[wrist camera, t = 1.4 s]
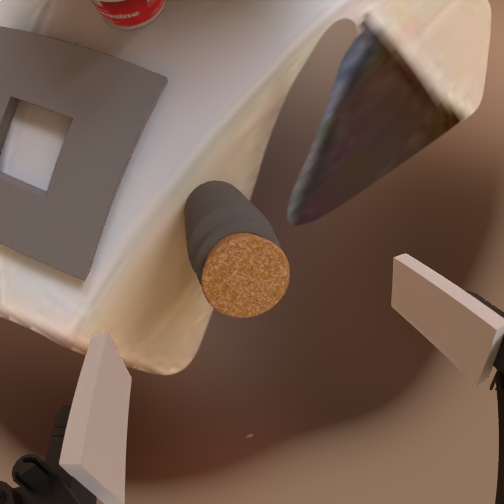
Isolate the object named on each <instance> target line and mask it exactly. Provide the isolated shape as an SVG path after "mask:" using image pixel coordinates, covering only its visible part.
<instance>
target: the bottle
mask: <svg viewBox="0 0 504 504" xmlns="http://www.w3.org/2000/svg"><path fill="white" fill-rule="evenodd" d="M185 226H186V238H187V249H188V255H189V260H190V263H191V265H192V267H193V269H194V271H195V272H196V273H197V277H198V280H199V282H200V284H201V286H202V290H203V293H204V295H205V297H206V299H207V301H208V302H209V303H210V304H211V306H212V307H213V308H215V309H216V310H217V311H219V312H221V313H222V314H225V315H227V316H231V317H236V318H247V317H253V316H257V315H259V314H261V313H264V312H266V311H267V310H269V309H271V308H272V307H273V306H274V305H275V304H276V303H277V302H279V300H280V299H281V298H282V296H283V295H284V293H285V291H286V289H287V286H288V283H289V279H290V269H289V263H288V261H287V258H286V256H285V254H284V253H283V252H282V250H281V247H280V244H279V242H278V240H277V239H276V237H275V234H274V232H273V229H272V227H271V225H270V224H269V222H268V220H267V219H266V218H265V217H264V216H263V215H262V213H261V212H260V211H259V210H258V209H257V208H256V207H255V206H254V205H253V204H252V203H251V202H250V201H249V200H248V199H247V198H246V197H245V196H244V195H243V194H242V193H241V192H240V191H239V190H238V189H236V188H235V187H234V186H232V185H231V184H228V183H226V182H222V181H211V182H206V183H204V184H202V185H200V186H198V187H197V188H196V189H195V190H194V191H193V192H192V193H191V194H190V196H189V198H188V200H187V202H186V206H185Z"/></svg>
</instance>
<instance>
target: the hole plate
mask: <svg viewBox="0 0 504 504" xmlns="http://www.w3.org/2000/svg"><path fill="white" fill-rule="evenodd" d="M167 82H168V80H167V77H164V76H162V75H160V74H157V73H155V72H152V71H150V70H147V69H144V68H142V67H139V66H137V65H134V64H131V63H129V62H126V61H123V60H120V59H118V58H115V57H112V56H109V55H106V54H103V53H100V52H97V51H94V50H91V49H88V48H85V47H81V46H78V45H75V44H71V43H68V42H64V41H61V40H57V39H53V38H50V37H46V36H42V35H38V34H34V33H30V32H25V31H21V30H16V29H11V28H6V27H1V26H0V154H1V150H2V147H3V144H4V140H5V137H6V134H7V131H8V128H9V125H10V122H11V119H12V117H13V114H14V111H15V109H16V106H17V103H18V101H19V99H20V100H23V101H26V102H29V103H32V104H35V105H37V106H40V107H43V108H46V109H49V110H51V111H54V112H57V113H59V114H62V115H65V116H67V117H70V118H73V120H72V123H71V125H70V128H69V130H68V133H67V135H66V138H65V140H64V143H63V146H62V148H61V151H60V154H59V157H58V159H57V162H56V165H55V168H54V171H53V174H52V177H51V180H50V184H49V187H48V190H47V192H46V191H44V190H41V189H39V188H37V187H34V186H32V185H30V184H27V183H25V182H23V181H20V180H18V179H16V178H14V177H11V176H9V175H7V174H4V173H2V172H0V243H1V244H3V245H5V246H8V247H10V248H12V249H14V250H16V251H18V252H20V253H22V254H24V255H26V256H29V257H31V258H33V259H35V260H37V261H40V262H42V263H44V264H46V265H49V266H51V267H53V268H55V269H58V270H60V271H62V272H65V273H67V274H69V275H72V276H74V277H76V278H79V279H81V280H84V281H85V279H86V277H87V276H88V274H89V272H90V268H91V265H92V262H93V258H94V255H95V252H96V249H97V245H98V242H99V239H100V236H101V233H102V230H103V227H104V225H105V222H106V219H107V216H108V213H109V210H110V208H111V205H112V202H113V200H114V197H115V194H116V192H117V189H118V187H119V184H120V182H121V179H122V177H123V174H124V172H125V169H126V167H127V165H128V162H129V160H130V158H131V155H132V153H133V151H134V149H135V146H136V144H137V142H138V140H139V138H140V135H141V133H142V131H143V129H144V127H145V125H146V123H147V121H148V119H149V117H150V115H151V112H152V110H153V108H154V107H155V105H156V103H157V101H158V99H159V97H160V95H161V93H162V91H163V89H164V87H165V85H166V84H167Z"/></svg>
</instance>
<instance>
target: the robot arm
mask: <svg viewBox="0 0 504 504" xmlns="http://www.w3.org/2000/svg"><path fill="white" fill-rule="evenodd" d="M391 306H392V307H393V308H394V309H395V310H396V311H397V312H398V313H400V314H401V315H402V316H403V317H404V318H405V319H406V320H407V321H408V322H410V323H411V324H412V325H413V326H414V327H415V328H416V329H417V330H418V331H420V332H421V333H422V334H423V335H424V336H425V337H426V338H427V339H428V340H429V341H430V342H431V343H433V344H434V345H435V346H436V347H437V348H438V349H439V350H440V351H441V352H442V353H443V354H444V355H445V356H446V357H447V358H448V359H450V360H451V361H452V362H453V363H454V364H455V365H456V366H457V367H458V368H459V369H460V370H461V371H462V372H463V373H464V374H465V375H466V376H467V377H468V378H469V379H470V380H471V381H472V382H473V383H474V384H475V385H478V384H480V383H481V382H482V381H484V380H485V379H486V378H488V377H489V375H490V372H491V370H492V367H493V366H494V367H495V368H496V369H497V372H496V374H495V376H494V379H493V381H492V383H491V386H490V390H492V389H493V387H494V385H495V383H496V389H495V390H497V400H498V418H499V463H498V480H497V492H496V501H495V504H504V312H502V311H501V310H499V309H498V308H497V307H495V306H494V305H491V303H489V302H488V301H485V299H484V298H482V297H481V296H479V295H478V294H475V293H473V292H470V291H467V290H466V291H464V290H462V289H461V288H459V287H458V286H456V285H455V284H453V283H452V282H450V281H449V280H447V279H446V278H444V277H443V276H441V275H439V274H438V273H436V272H435V271H433V270H432V269H430V268H429V267H427V266H425V265H424V264H422V263H420V262H419V261H417V260H416V259H414V258H413V257H411V256H409V255H408V254H402V255H399V256H396V257H394V263H393V285H392V302H391ZM130 388H131V376H130V374H129V372H128V370H127V369H126V366H125V364H124V363H123V361H122V359H121V357H120V355H119V353H118V351H117V349H116V347H115V345H114V342H113V340H112V338H111V336H110V334H109V332H108V331H107V332H102V333H97V334H93V335H92V338H91V341H90V344H89V347H88V350H87V354H86V357H85V360H84V363H83V367H82V370H81V374H80V377H79V381H78V384H77V388H76V391H75V395H74V399H73V403H72V405H64V406H63V407H62V408H61V410H60V411H59V412H58V414H57V415H56V419H55V423H54V429H53V430H52V434H51V436H52V437H51V438H50V442H49V446H48V451H47V455H46V459H45V462H44V461H43V460H42V459H41V458H40V457H39V456H37V455H34V454H27V455H25V456H22V457H21V458H20V459H19V460H18V461H16V463H15V465H14V467H13V470H12V477H13V481H15V482H16V483H17V484H18V485H19V486H20V487H17V488H12V487H10V486H9V485H8V484H7V483H6V482H3V481H0V504H96V498H98V499H99V500H100V501H102V502H103V503H104V504H125V460H126V459H125V458H126V438H127V422H128V410H129V399H130Z"/></svg>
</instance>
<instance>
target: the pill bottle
mask: <svg viewBox="0 0 504 504" xmlns="http://www.w3.org/2000/svg"><path fill="white" fill-rule="evenodd" d="M92 2H93V3H94V5H95V6H96V8H97V9H98V11H99V12H100V14H101V15H102V17H103V18H104V20H105V21H106V22H107V23H108V24H110V25H111V26H113V27H115V28H119V29H136V28H139V27H142V26H144V25H146V24H148V23H150V22H151V21H153V20H154V19H155V18H156V17H157V16H158V15H159V14H160V13H161V11H162V9H163V7H164V5H165V2H166V0H92Z"/></svg>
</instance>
